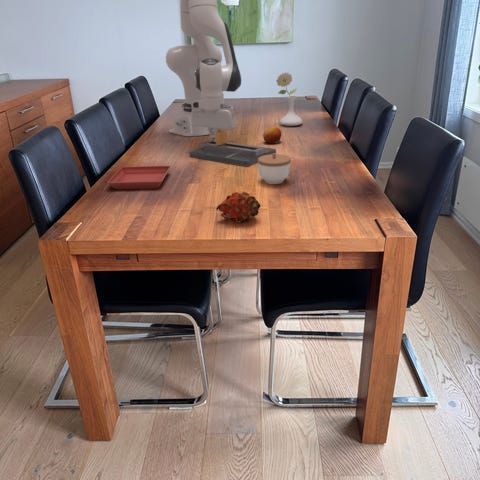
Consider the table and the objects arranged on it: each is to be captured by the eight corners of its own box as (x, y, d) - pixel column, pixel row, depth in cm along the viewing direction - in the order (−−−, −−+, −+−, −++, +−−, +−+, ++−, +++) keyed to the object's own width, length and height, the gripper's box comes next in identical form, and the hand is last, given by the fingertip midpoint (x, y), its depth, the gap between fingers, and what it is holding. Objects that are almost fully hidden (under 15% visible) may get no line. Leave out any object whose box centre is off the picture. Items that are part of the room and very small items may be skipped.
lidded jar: (281, 188, 150) (281, 159, 146) (252, 183, 155) (251, 155, 151) (295, 178, 158) (296, 151, 154) (267, 174, 163) (267, 148, 159)
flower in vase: (302, 122, 239) (303, 70, 228) (302, 127, 228) (304, 73, 218) (276, 122, 240) (276, 71, 229) (275, 127, 230) (275, 73, 219)
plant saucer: (122, 175, 170) (121, 166, 168) (171, 173, 169) (171, 165, 167) (108, 192, 153) (106, 182, 152) (162, 191, 152) (161, 181, 151)
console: (189, 156, 187) (188, 146, 185) (220, 145, 202) (219, 136, 200) (247, 166, 172) (247, 156, 170) (275, 153, 187) (275, 144, 185)
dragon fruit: (264, 226, 127) (221, 232, 129) (262, 200, 131) (220, 206, 133) (259, 210, 120) (213, 216, 122) (257, 182, 124) (213, 189, 126)
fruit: (284, 141, 198) (275, 125, 196) (268, 151, 201) (259, 134, 199) (286, 137, 205) (277, 121, 203) (271, 146, 208) (262, 130, 206)
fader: (216, 149, 188) (215, 132, 185) (223, 146, 191) (222, 129, 188) (220, 150, 186) (219, 133, 184) (227, 147, 190) (226, 130, 187)
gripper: (239, 104, 180) (240, 140, 186) (198, 100, 191) (200, 134, 197) (229, 106, 175) (230, 143, 181) (187, 103, 186) (190, 137, 192)
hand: (214, 138), depth 189 cm, fingers closed
